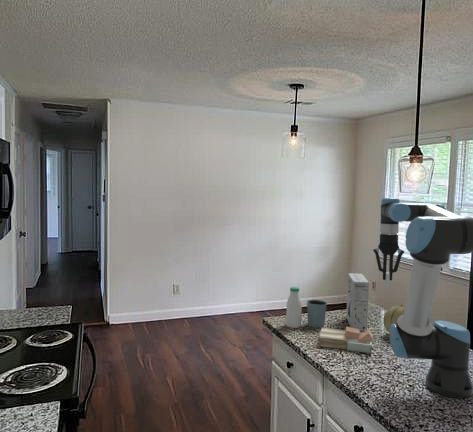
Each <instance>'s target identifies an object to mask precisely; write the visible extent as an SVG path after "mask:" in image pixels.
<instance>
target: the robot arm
mask: <svg viewBox="0 0 473 432" xmlns="http://www.w3.org/2000/svg"><path fill="white" fill-rule="evenodd" d="M379 221H380V224H379V225H380V227H379V233H380V234H379V244H378V245H377V247H376V248H373V249H372V251H373V253H374V254H375V259H376V263H377V264H376V265H377V268H378V272H381V273H382V280H383V281H384V288H385V289H390V281H393V274H394V273H397V272H398V269H399V266H400V262H401V260H402V256H403V255H404V253H405V251H404V250H403V249H402V248H400V245H399V231H400V230H399V225H400V224H399V223H402V222H405V223H406V222H410V223H409V224H408V226H407V229H406V232H405V233H406V234H405V242H404V243H405V247H406V250H407V252H409V256H410V257H411V258H412V259H413V262H412V265H411V272H410V278H409V281H408V287H407V293H406V297H405V302H404V303H405V304H404V306H403V307H404V313H403V315H401V316H400V317H399V318H398V320H397V324H391V325H390V328H389V332H388V333H389V334H388V335H389V342H390V347H391V350H392V352H393V354H394V355H395V357H397V358H400V359H407V360H408V359H410V360H411V359H413V360H414V359H415V360H431V365H430V366H429V369H428V370H427V371H428V372H427V373H426V375H425V376H426V377H425V386H426V387H427V389H429V390H430V391H432V392H434V393H436V394H438V395H442V396H444V397H449V398H453V399H467V398H470V397H472V396H473V381H472V379H471V375H470V372H469V367H470V366H469V365H470V364H469V363H470V352H471V351H470V348H471V333H470V331H469V329H467V328H466V327H464V326H463V325H460V324H458V323H455V322H451V321H448V320H447V321H446V320H439V319H438V320H435V321H434V322H433V324H432V323H431V322H430V320H431V316H432V312H433V306H434V302H435V298H436V293H437V289H438V285H439V280H440V275H441V271H442V268H443V265H446V264H447V263H449V260H450V256H451V255H468V254H471V253H473V217H471V216H467V215H466V216H461V215H459V214H456V213H453V212H451V211H449V210H447V208H446V206H445V205H444V204H441V203H436V202H435V203H414V202H413V203H412V202H411V203H409V202H400V199H399V198H398V197H397V198H396V197H394V198H391V197H390V198H389V197H388V198H387V197H383V198H382V199H381V201H380V220H379ZM380 252H381V254H382V255H383V256H382V259H383V261H382V264H381V259H380V258H381V257H380V255H379V253H380ZM396 253H397V256H396V259H395V262H394V256H395V254H396ZM388 257H389V260H388ZM388 261H389V262H388ZM387 262H388V265H389V267H388V271H387Z"/></svg>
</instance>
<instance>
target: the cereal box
mask: <svg viewBox="0 0 473 432" xmlns="http://www.w3.org/2000/svg"><path fill="white" fill-rule="evenodd" d="M346 289H347V291H346V293H347V294H346V298H347V299H346V316H345V317H346V320H347V322H348V324H349V327H351V328H356V329H360V332H364V331H366V330H367V329H368V316H369V314H368V313H369V294H370V293H369V292H370V291H369V289H370V282H369V281H368V280H367V278H366V277H365V275H364V274H362V273H354V272H353V273H352V272H351V273H350V272H349V273H348V274H347V288H346Z"/></svg>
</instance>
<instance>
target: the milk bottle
mask: <svg viewBox="0 0 473 432" xmlns="http://www.w3.org/2000/svg"><path fill="white" fill-rule="evenodd" d="M289 293H290V294H289V297H288V299H287V301H286V312H285V313H286V317H285V325H286V327H288V328H292V329H298V328H301V327H302V312H303V310H302V309H303V308H302V306H303V305H302V300H301V297H300V287H297V286H291V287H290V288H289Z"/></svg>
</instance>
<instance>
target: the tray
mask: <svg viewBox="0 0 473 432" xmlns="http://www.w3.org/2000/svg"><path fill="white" fill-rule="evenodd" d="M363 332H364V331H360V334H361V333H363ZM360 334H359V335H360ZM372 341H373V340H370V341H369V342H367V343H366V344H362V343H359V342H358V340H356V339H352V338H348V337H347V349H346V351H350V352H360V353H367V354H372V353H373V352H372V350H373V343H372Z"/></svg>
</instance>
